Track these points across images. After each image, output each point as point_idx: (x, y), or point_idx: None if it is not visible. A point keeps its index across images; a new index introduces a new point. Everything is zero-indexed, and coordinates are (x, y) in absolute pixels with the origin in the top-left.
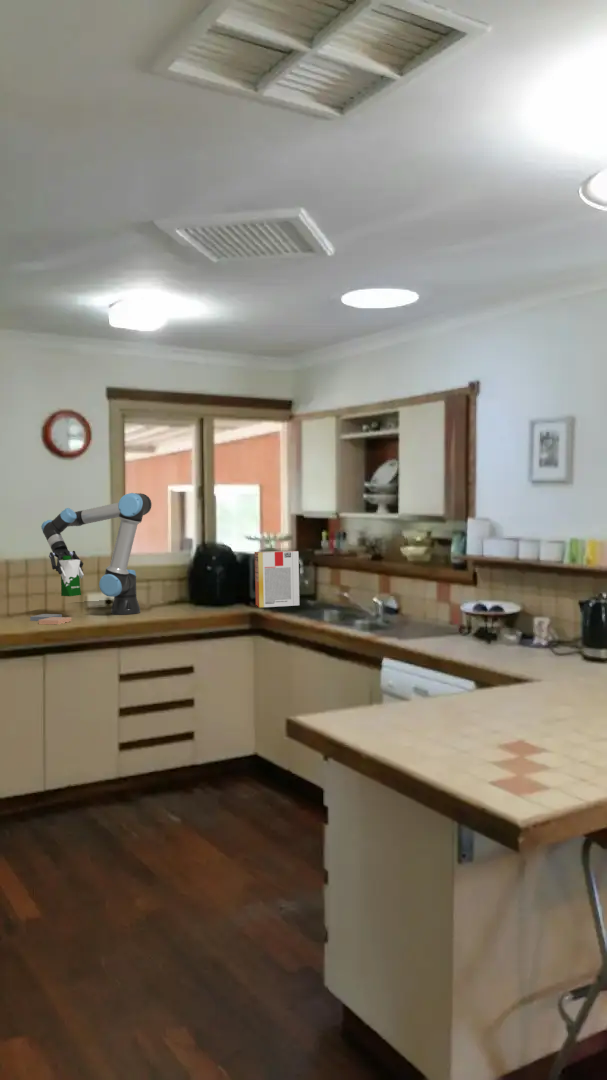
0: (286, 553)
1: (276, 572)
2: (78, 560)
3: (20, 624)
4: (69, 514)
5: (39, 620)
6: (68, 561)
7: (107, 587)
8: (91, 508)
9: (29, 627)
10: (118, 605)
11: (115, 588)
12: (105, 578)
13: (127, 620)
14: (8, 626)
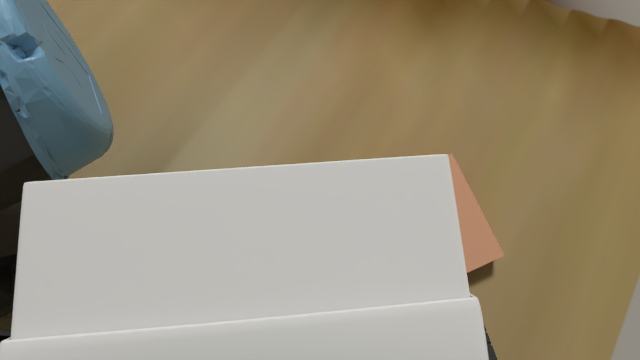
0: None
1: None
2: (107, 179)
3: (560, 323)
4: None
5: (500, 251)
6: (438, 160)
7: (81, 76)
8: None
9: (570, 190)
10: (13, 211)
11: (62, 25)
12: (38, 36)
13: (183, 19)
14: (628, 307)
